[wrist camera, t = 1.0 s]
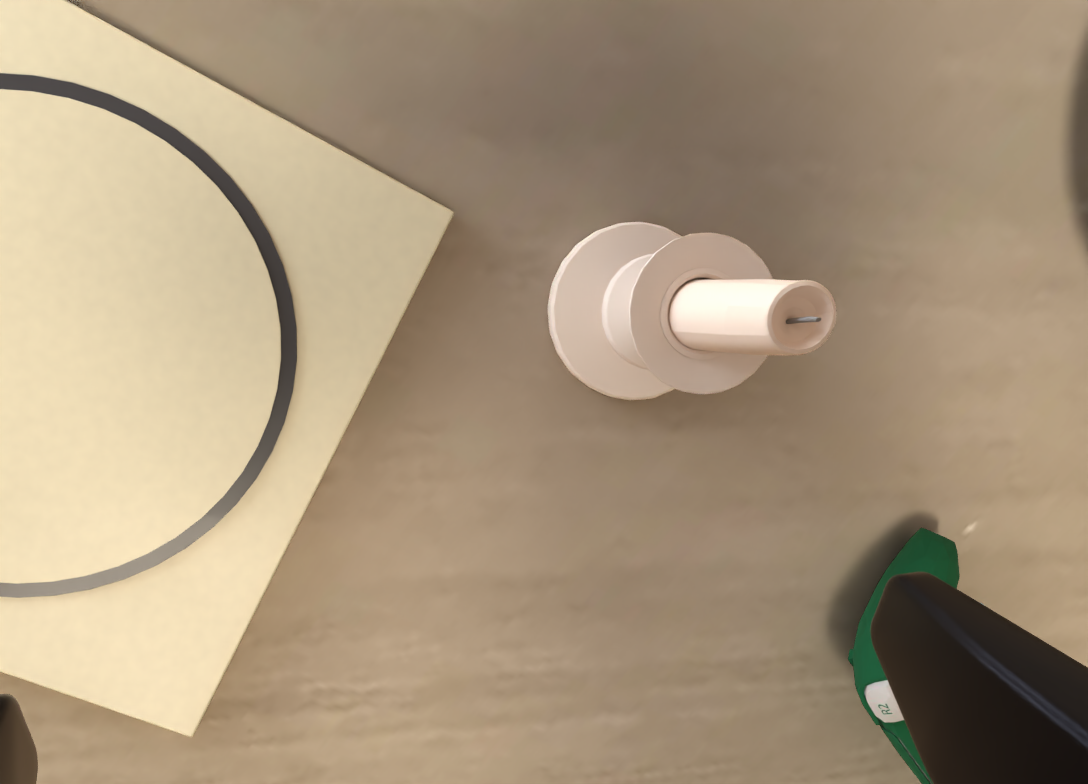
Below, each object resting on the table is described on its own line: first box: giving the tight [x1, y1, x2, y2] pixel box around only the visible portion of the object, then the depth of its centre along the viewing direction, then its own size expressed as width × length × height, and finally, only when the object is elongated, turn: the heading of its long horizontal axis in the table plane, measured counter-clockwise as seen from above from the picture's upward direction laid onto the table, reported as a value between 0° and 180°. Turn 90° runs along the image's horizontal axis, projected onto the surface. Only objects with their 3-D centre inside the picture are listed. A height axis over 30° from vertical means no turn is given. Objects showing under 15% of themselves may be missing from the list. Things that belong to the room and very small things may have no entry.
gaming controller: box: [848, 528, 959, 784], centre depth 29 cm, size 9×4×6 cm
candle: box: [547, 222, 837, 400], centre depth 21 cm, size 5×5×10 cm
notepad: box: [0, 0, 454, 737], centre depth 22 cm, size 16×16×1 cm
